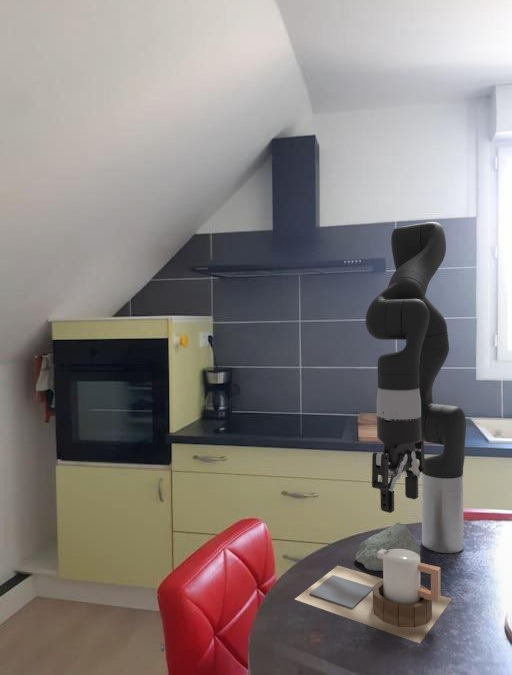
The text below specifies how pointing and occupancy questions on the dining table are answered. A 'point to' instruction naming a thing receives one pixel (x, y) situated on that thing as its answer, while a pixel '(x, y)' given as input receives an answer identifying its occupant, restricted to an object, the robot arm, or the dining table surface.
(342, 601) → the serving board
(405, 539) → the decorative stone
